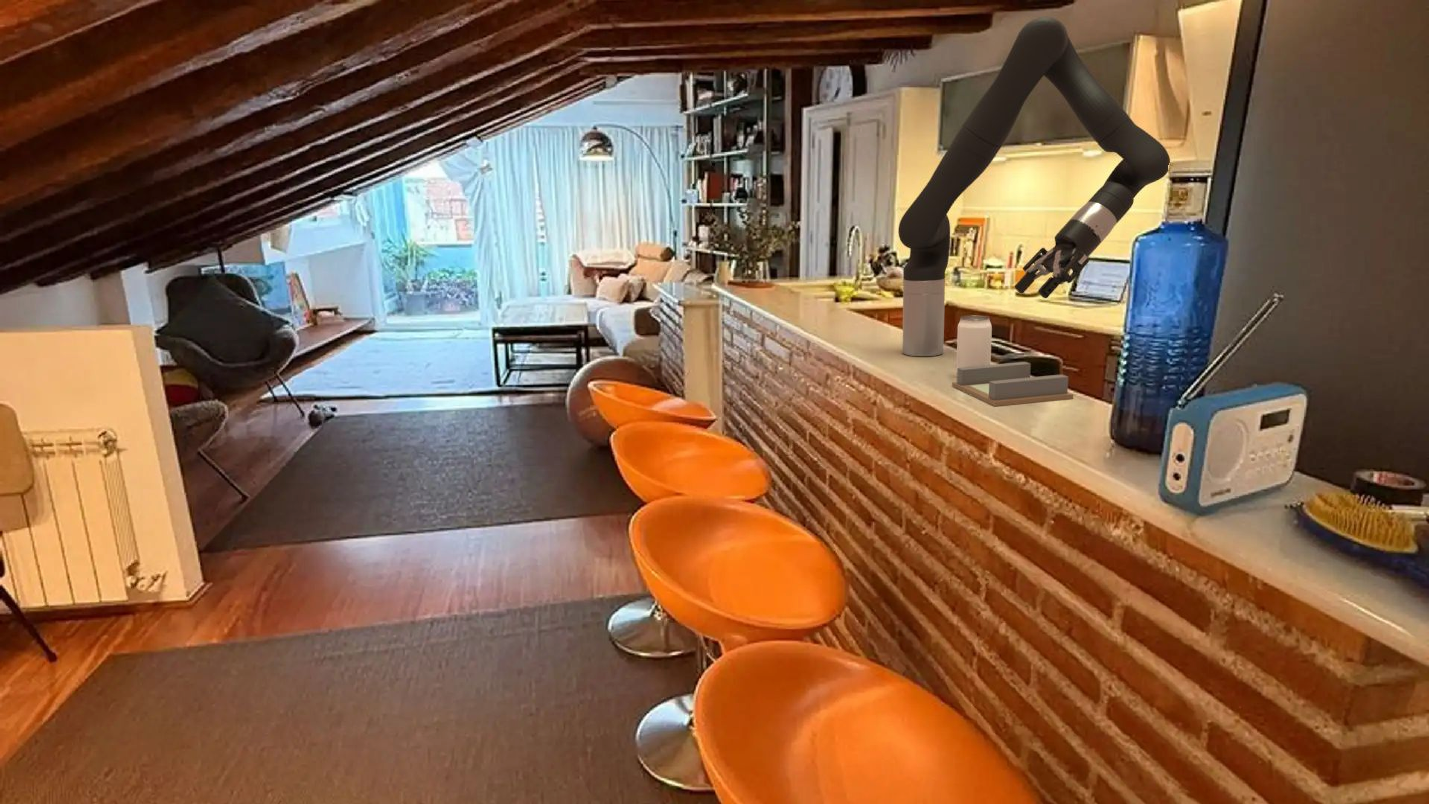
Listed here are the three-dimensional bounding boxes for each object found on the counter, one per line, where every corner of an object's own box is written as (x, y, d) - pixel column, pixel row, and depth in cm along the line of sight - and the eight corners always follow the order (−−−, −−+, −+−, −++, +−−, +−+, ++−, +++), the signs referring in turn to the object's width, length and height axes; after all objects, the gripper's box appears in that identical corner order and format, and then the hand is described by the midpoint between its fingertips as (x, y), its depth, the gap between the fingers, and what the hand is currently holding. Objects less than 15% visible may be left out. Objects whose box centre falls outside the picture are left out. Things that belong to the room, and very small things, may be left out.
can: (985, 372, 163) (988, 314, 160) (993, 379, 157) (995, 319, 154) (953, 373, 164) (955, 315, 161) (959, 380, 158) (961, 320, 155)
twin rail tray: (952, 386, 153) (952, 367, 152) (1023, 379, 156) (1024, 360, 155) (994, 406, 138) (995, 385, 137) (1073, 398, 140) (1074, 377, 140)
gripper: (1053, 217, 163) (999, 277, 164) (1097, 218, 149) (1038, 283, 150) (1074, 242, 165) (1021, 301, 166) (1120, 245, 151) (1062, 309, 152)
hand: (1029, 292), depth 158 cm, fingers open, 8 cm apart
